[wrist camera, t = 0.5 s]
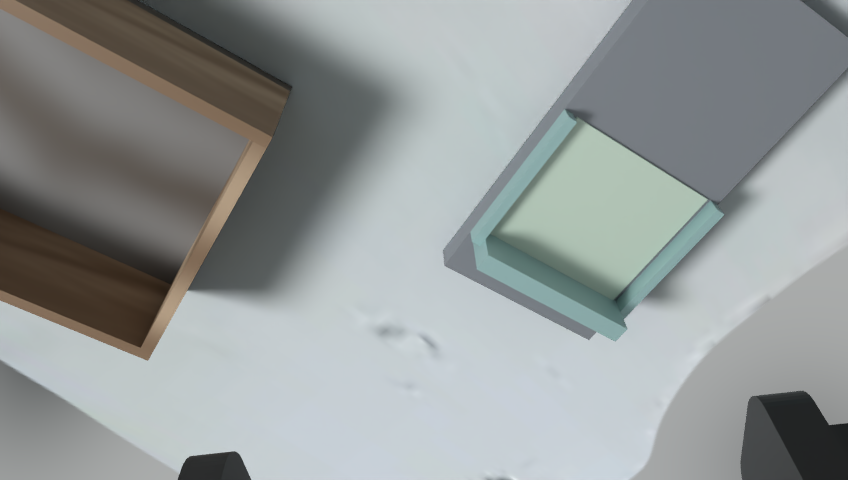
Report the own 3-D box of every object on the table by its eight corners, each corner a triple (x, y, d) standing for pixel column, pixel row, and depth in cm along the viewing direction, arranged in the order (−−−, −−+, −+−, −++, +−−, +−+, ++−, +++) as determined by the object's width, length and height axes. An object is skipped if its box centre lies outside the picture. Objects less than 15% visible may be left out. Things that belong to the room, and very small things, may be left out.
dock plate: (693, -80, 31) (727, -65, 28) (847, 40, 34) (896, 68, 31) (443, 250, 40) (446, 292, 37) (583, 323, 43) (598, 369, 40)
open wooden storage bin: (-135, -152, 29) (-249, -141, 24) (292, 86, 35) (272, 137, 30) (-190, 126, 35) (-290, 182, 30) (179, 290, 41) (147, 360, 36)
